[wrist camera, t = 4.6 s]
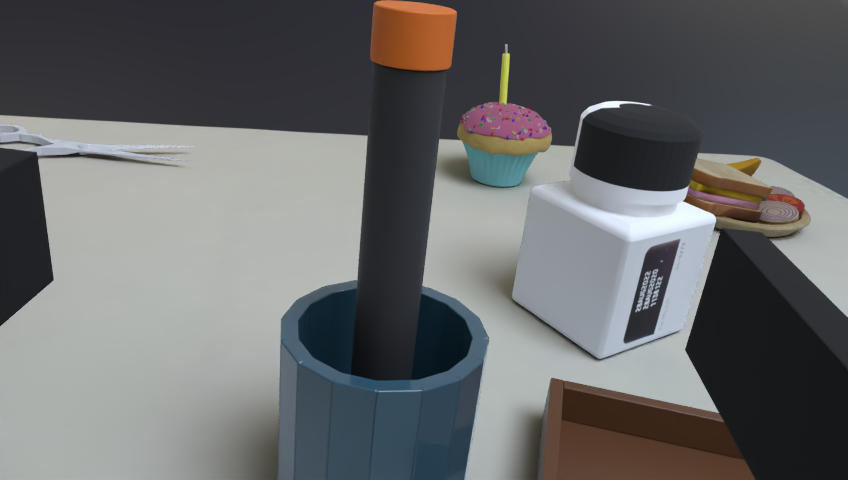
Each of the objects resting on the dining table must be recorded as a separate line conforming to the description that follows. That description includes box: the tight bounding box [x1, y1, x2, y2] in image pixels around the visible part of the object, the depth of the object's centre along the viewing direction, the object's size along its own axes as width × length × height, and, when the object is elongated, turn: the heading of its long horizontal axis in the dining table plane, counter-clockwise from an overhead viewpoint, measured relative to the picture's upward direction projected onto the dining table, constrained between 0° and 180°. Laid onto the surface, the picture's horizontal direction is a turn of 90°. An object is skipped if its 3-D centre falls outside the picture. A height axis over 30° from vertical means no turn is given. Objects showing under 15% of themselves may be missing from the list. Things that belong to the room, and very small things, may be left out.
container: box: [512, 101, 716, 359], centre depth 41 cm, size 8×8×13 cm
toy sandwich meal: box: [683, 158, 811, 237], centre depth 63 cm, size 12×14×5 cm
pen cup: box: [278, 280, 489, 480], centre depth 26 cm, size 7×7×8 cm
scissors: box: [0, 124, 194, 162], centre depth 59 cm, size 11×1×20 cm
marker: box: [351, 1, 457, 381], centre depth 24 cm, size 2×2×18 cm
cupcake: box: [457, 44, 552, 187], centre depth 63 cm, size 9×8×12 cm
